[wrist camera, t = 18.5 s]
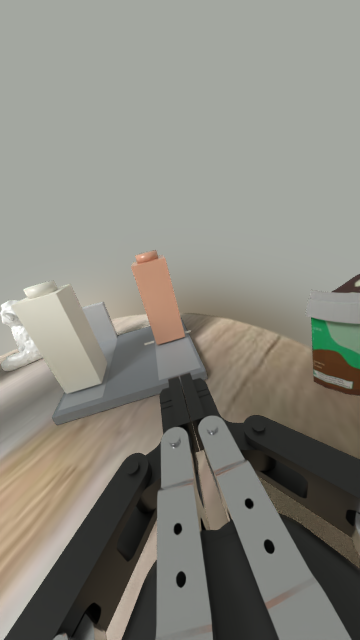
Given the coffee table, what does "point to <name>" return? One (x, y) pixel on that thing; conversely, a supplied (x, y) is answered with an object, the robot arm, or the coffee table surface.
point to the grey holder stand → (129, 367)
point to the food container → (336, 337)
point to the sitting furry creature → (18, 340)
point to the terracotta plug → (158, 296)
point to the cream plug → (62, 335)
